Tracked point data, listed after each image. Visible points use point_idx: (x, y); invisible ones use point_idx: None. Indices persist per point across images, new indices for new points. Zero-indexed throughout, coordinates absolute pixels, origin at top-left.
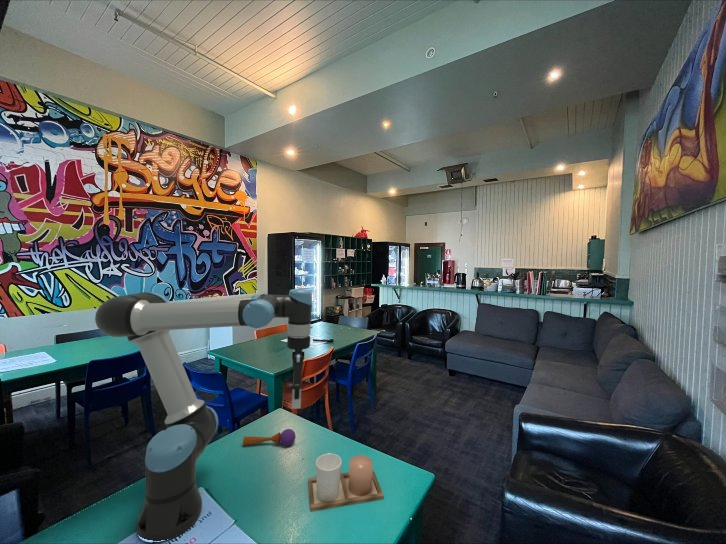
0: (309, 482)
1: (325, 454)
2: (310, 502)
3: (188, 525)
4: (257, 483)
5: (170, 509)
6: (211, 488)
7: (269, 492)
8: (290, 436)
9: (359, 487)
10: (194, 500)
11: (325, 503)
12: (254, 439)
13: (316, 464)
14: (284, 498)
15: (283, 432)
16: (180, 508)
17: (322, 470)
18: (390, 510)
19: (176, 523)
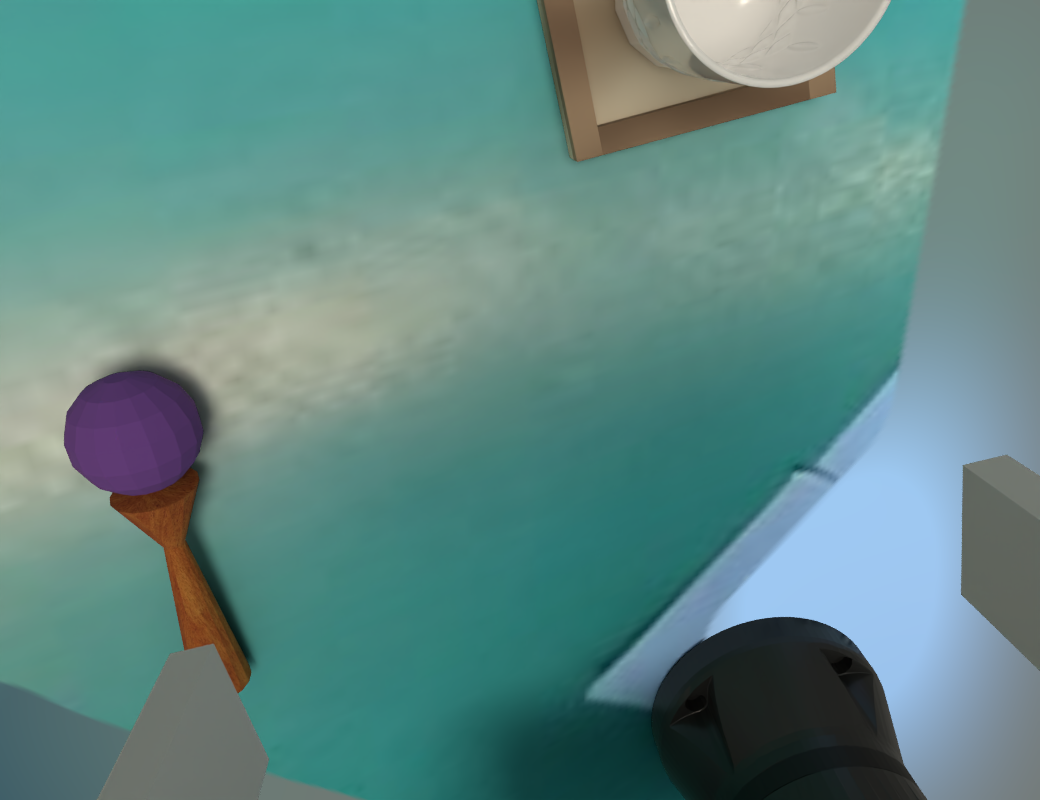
0: (618, 144)
1: (674, 3)
2: (794, 100)
3: (830, 632)
4: (562, 464)
5: (898, 748)
6: (599, 651)
7: (630, 377)
8: (161, 414)
9: None
10: (810, 689)
11: None
12: (215, 635)
13: (815, 75)
14: (677, 280)
15: (141, 483)
16: (870, 715)
17: (883, 4)
18: None
19: (872, 680)
